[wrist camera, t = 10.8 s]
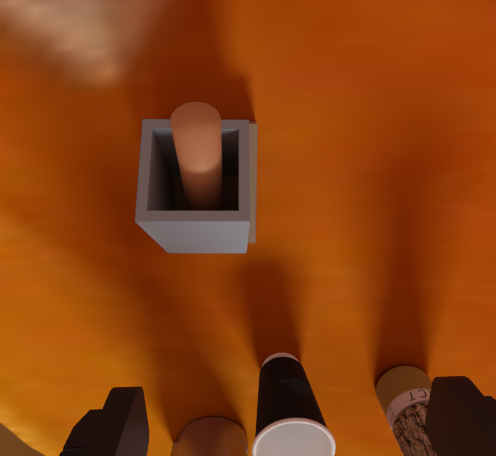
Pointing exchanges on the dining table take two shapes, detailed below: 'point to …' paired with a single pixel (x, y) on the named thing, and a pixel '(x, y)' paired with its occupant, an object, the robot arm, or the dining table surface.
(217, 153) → the dowel
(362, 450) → the dining table surface
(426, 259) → the dining table surface
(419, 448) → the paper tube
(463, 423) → the robot arm
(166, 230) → the socket
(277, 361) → the dixie cup
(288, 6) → the dining table surface
